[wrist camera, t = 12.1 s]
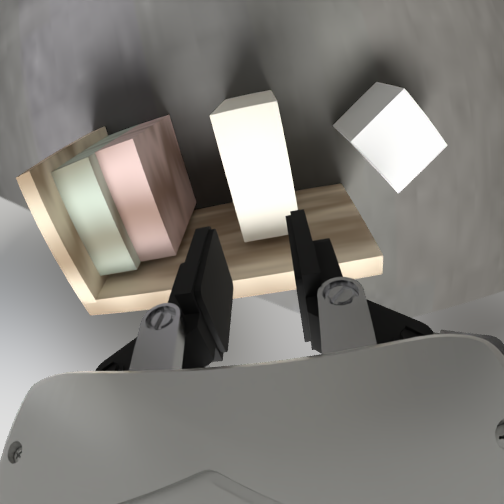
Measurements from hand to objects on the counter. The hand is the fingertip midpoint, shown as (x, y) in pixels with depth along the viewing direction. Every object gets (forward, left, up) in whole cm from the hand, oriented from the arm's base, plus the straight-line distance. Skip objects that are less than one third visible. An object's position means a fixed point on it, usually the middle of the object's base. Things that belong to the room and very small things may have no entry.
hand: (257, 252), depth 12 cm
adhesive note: (0, +11, -17) cm, 21 cm away
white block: (0, 0, -17) cm, 17 cm away
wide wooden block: (0, -4, -17) cm, 18 cm away
